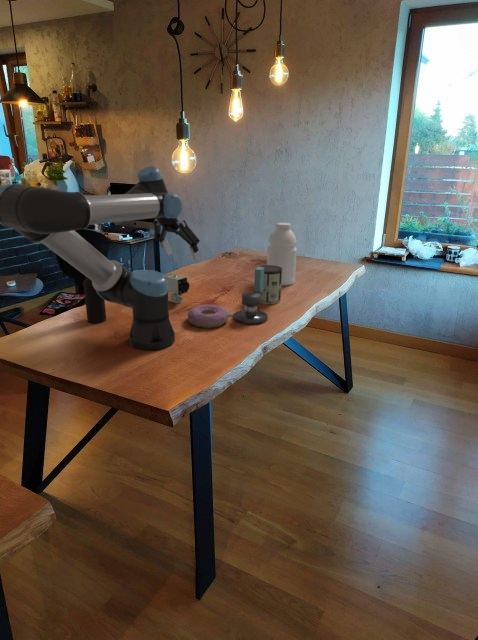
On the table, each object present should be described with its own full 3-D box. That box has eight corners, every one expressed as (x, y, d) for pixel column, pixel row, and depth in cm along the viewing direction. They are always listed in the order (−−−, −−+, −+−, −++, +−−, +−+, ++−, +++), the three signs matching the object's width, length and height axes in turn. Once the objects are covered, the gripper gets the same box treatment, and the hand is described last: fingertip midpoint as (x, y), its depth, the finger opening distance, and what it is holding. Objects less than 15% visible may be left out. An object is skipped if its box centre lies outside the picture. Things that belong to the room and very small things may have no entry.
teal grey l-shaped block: (256, 307, 168) (257, 277, 163) (238, 304, 170) (239, 274, 166) (268, 296, 179) (270, 268, 175) (252, 293, 182) (253, 266, 177)
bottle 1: (86, 324, 166) (80, 271, 158) (88, 317, 172) (82, 266, 165) (105, 323, 167) (100, 270, 160) (107, 316, 173) (102, 265, 166)
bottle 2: (265, 277, 226) (268, 220, 216) (293, 278, 226) (297, 221, 216) (266, 285, 213) (268, 225, 203) (295, 286, 213) (300, 226, 203)
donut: (187, 315, 177) (187, 303, 175) (226, 314, 179) (226, 302, 177) (188, 330, 162) (187, 317, 161) (230, 329, 164) (230, 316, 162)
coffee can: (266, 294, 201) (268, 263, 196) (285, 300, 194) (287, 268, 189) (251, 300, 194) (252, 268, 189) (270, 306, 187) (271, 273, 182)
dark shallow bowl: (260, 326, 166) (261, 311, 164) (219, 319, 172) (219, 304, 170) (272, 315, 177) (272, 300, 175) (233, 308, 183) (233, 294, 181)
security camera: (182, 306, 185) (181, 278, 180) (162, 300, 191) (160, 272, 187) (191, 303, 189) (191, 275, 185) (171, 297, 196) (170, 270, 191)
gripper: (197, 205, 158) (214, 253, 172) (144, 201, 170) (164, 246, 185) (185, 218, 154) (204, 266, 168) (132, 212, 166) (153, 258, 181)
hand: (183, 256), depth 176 cm, fingers open, 13 cm apart
